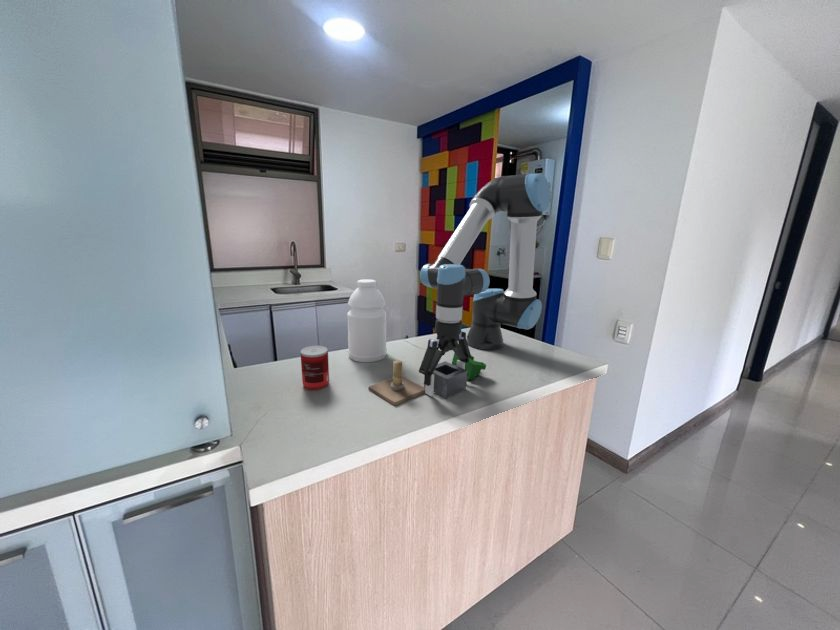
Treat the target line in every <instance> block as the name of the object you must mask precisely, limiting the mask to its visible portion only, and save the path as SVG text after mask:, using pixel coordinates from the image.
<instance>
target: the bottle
mask: <svg viewBox="0 0 840 630" xmlns="http://www.w3.org/2000/svg"><path fill="white" fill-rule="evenodd" d="M356 286H357V287H356V288H355V289H354V291H353V292H352V293H351V295H350V297H349V299H348V301H347V305H348V306H349V307H350V310H349V311H348V312H347V314H346V316H347V343H348V344H347V345H348V351H347V353H348V354H347V355H348V357H349V358H350V359H351V360H352V361H354V362H355V361H356V362H360V363H374V362H378V361H381V360H383V359H385V358H386V356H387V311H386V310H385V309H384V307H385V306H386V304H387V302H386V298H385V297H384V295H383V293H382V292H381V291H380V290H379V288H377V280H375V279H372V278H371V279H367V278H365V279H363V278H362V279H359V280H356Z"/></svg>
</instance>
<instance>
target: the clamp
mask: <svg viewBox="0 0 840 630" xmlns="http://www.w3.org/2000/svg"><path fill="white" fill-rule="evenodd" d="M468 359H469V362H468V363H467V362H466V365H465V370H467V381H469V380H470V381H473V380H475V378H476V377H477V376H478V377H479V376H480V374H481V372H482V370H483V371H484V370H486V368H487V363H484V362H483V361H477V360H474V359H475V357H474V356H473V355H471V357H470V358H468ZM457 360H460V359H459V358H458V357H457V355H456V354H455V352H454V353H453V357H452V361H451V364H453V365H455V366H457Z"/></svg>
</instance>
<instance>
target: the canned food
mask: <svg viewBox="0 0 840 630" xmlns="http://www.w3.org/2000/svg"><path fill="white" fill-rule="evenodd" d="M300 364H301V365H300V367H301V378H302V379H301V380H302V385H303V387H304V389H306V390H309V389H310V391H317V389H318V390H322V389H325V388H326V387H327V386H328V385H329V383H330V371H329V370H330V368H329V349H328V348H327V347H326V346H323V345H309V346H306V347H303V348H301V350H300Z"/></svg>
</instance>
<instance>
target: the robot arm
mask: <svg viewBox="0 0 840 630" xmlns="http://www.w3.org/2000/svg"><path fill="white" fill-rule="evenodd" d="M551 194H552V193H551V187H550V182H549V181H548V179H547V177H546V176H545V175H543V174H541V173H526V174H515V175H513V174H512V175H502V176H497V177H495V178H494V179H491V180H490V181H489V182H487V183H485V185H484V186H483V187H481V188H480V189H479V190H478V191H477V192H476V193H475V195H474V196H473V197H472V199H471V201H470V202H469V209H468V210H467V212H466V214H465V215H464V216H463V218H462V219H461V221H460V223H459V224H458V225H457V227H456V228H455V230H454V232H453V233H452V234H451V236H450V238H449V239H448V241H447V242H446V243H445V245H444V247H443V249H442V250H440V251H441V252H440V253H439V254H438V256H437V258H436V259H435V260H434V262H433V263H426V264H424V265H423V266H422V267H421V269H420V272H419V279H420V282H421V284H422V285H423V286H426V287H429V288H431V289H436V301H435V302H436V307H435V318H436V319H435V326H434V327H435V328H434V331H435V333H436V338H435V339H432V338H429V339H428V341H427V348H426V350H425V352H424V355H423V359H422V361H421V364H420V366H419V369H418V373H420V374H422V375H423V376H424V379H423V385H424V384H425V393H424V394H426V395H427V396H429V397H434V396H435V395H434V394H435V393H434V374H433V372H434V370H435V368H436V366H437V364H439V362H440V361H441V359H442V357H443V356H445V355H446V353H448V352H449V351H453V352H454V353H455V354H456V355H457V357H458V358H459V359H460V360H457V366H458V367H460V368H463V369H465V365H466V362H467V363H468V362H469V359H468V358H470V357H471V356H472V354H471V351H470V348H469V347H471V348H475V349H478V350H488V351H492V350H493V351H495V350H500V349H501V348H503V346H504V338H503V332H502V329H501V325H505V326H510V327H514V328H518V329H524V330H530V329H532V328H534V327H535V325H536V324H537V322H538V320H539V319H540V317H541V314H542V310H543V303H542V301H541V299H537V292H536V291H535V290H534V288H533V286H534V272H535V258H536V257H535V256H536V242H537V240H536V239H537V228H538V227H537V225H538V221H539V220H540V219H541V218H542V217H543V212H546V211H547V210H548V208H549V207H550V203H551V196H552V195H551ZM499 212H506V218H507V219H508V220H509V221H510V237H509V238H510V241H509V242H510V243H509V262H508V263H509V267H508V268H509V269H508V287H507V289H506V290H505V291H504V289H503V288H489V286H490V283H491V282H490V276H489V273H488V272H487V271H486V270H485V269H482V268H473V269H471V268H466V267H465V266H464V265H463V264H462V262H463V260H464V258H465V257H466V255H467V253H468V252H469V251H470V249H471V247H472V245H473V244H474V243H475V241H476V239H477V238H478V236H479V235H480V233H481V232H482V230H483V228H484V227H485V225H486V223H487V222H488V221H489V220H492V219H493V218H494V216H495V214H497V213H499ZM469 296H473V300H472V303H473V304H472V316H471V326H470V327H469V331H468V333H466V332H465V331H463V330H462V328H463V327H462V325H463V322H462V320H463V313H464V298H465V297H469ZM429 369H430V371H429Z"/></svg>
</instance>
